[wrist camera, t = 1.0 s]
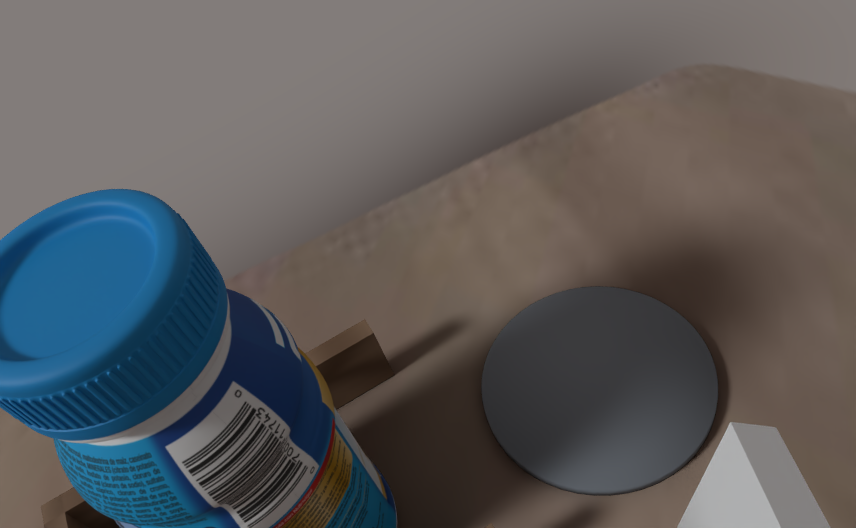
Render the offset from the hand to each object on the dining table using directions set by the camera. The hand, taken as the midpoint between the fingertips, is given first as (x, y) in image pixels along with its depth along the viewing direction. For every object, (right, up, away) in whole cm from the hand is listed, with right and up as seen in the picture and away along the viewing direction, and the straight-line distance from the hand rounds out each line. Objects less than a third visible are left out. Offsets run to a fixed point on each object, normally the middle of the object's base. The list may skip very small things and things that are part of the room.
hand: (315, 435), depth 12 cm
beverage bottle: (-3, -10, +23) cm, 25 cm away
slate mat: (+10, -3, +24) cm, 27 cm away
